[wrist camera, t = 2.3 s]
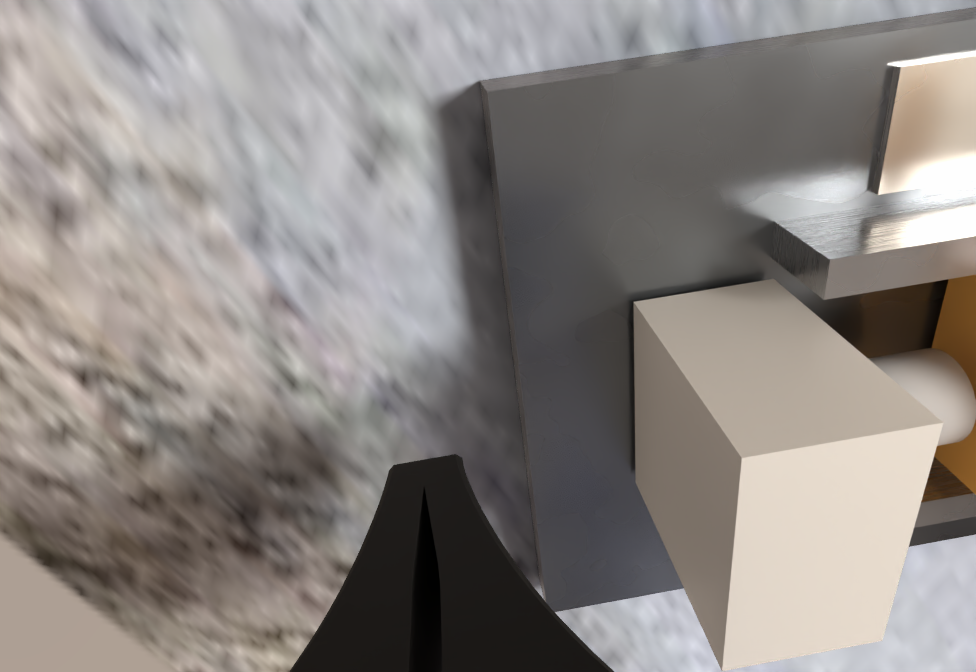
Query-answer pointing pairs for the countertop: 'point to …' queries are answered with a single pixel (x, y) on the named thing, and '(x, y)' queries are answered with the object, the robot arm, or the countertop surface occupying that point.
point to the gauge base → (718, 242)
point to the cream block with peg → (784, 465)
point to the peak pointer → (972, 343)
